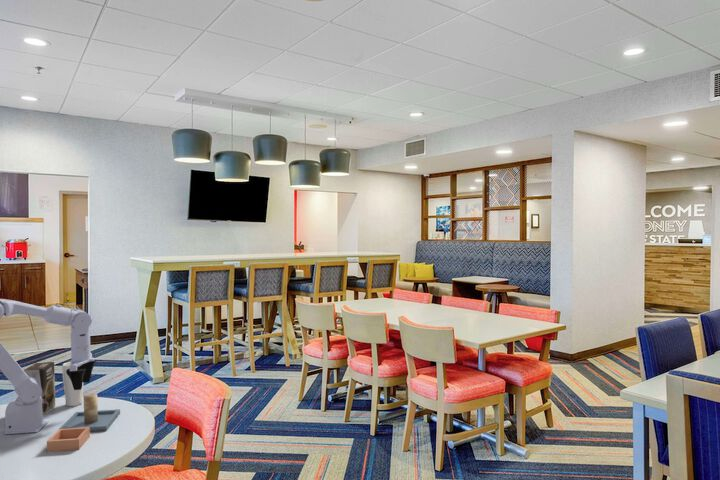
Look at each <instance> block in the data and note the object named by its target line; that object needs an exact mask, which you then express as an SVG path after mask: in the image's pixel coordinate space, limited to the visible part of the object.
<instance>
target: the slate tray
mask: <svg viewBox="0 0 720 480" xmlns="http://www.w3.org/2000/svg"><path fill="white" fill-rule="evenodd" d="M120 414H121V409H119V408H117V409H102V410H98V421H97V422H95V423H92V424H85V423H84V410H82V411H75V412H74V413H73V414H72V415H71V416H70V417H69V418H68V419H67V420H66V421H65V422H64V423H63V424H62V425H61V426H60V427H59V429H68V428H83V427H90V433H92V432H93V433H94V432H106V431H108V430H109V428H111V426H112V425H113V423H114V422H115V420H116V419H117V418H118V417H119V416H120ZM118 415H119V416H118ZM59 429H58V430H59Z"/></svg>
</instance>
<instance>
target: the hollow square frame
mask: <svg viewBox="0 0 720 480" xmlns="http://www.w3.org/2000/svg"><path fill="white" fill-rule="evenodd" d="M90 437H91V432H90V427H83V428H68V429H58V430H57V431H56V432H55V433H54V434H53V435H52V436H51V437H50V438H48V440H46V451H47V452H48V453H49V452H63V451H75V450H80V449H81V448H82V446H84V444H85V443H86V442H87V441H88V439H89V438H90ZM47 452H46V453H47Z"/></svg>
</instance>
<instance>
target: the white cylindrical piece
mask: <svg viewBox="0 0 720 480" xmlns="http://www.w3.org/2000/svg"><path fill="white" fill-rule="evenodd" d="M70 365H71V360H70V361H67V362H64V363H63V364H62V366H61V367H62V368H61V369H62V372H61V373H62V383H63V391H64V399H65V405H66V406H67V407H76V406H77V407H78V406H79V405H81V404H82V403H84V382H83V383H82V389H81V390H74V388H73V385H72V382H71V379H70V378H69V376H68V375H67V374H66V370H67V369H70Z"/></svg>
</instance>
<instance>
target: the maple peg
mask: <svg viewBox="0 0 720 480" xmlns="http://www.w3.org/2000/svg"><path fill="white" fill-rule="evenodd" d="M83 411H84V423H85V424H92V423H95V422H97V421H98V411H99V405H98V394H97V393H88V394H86V395H83Z"/></svg>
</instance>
